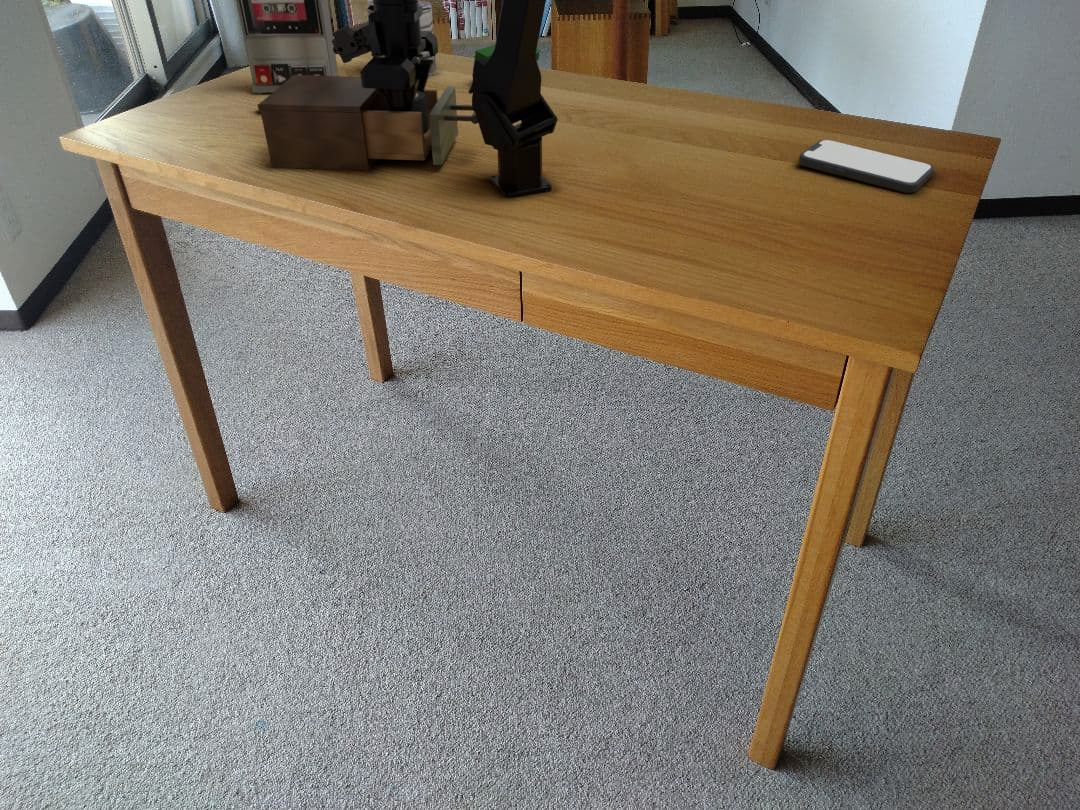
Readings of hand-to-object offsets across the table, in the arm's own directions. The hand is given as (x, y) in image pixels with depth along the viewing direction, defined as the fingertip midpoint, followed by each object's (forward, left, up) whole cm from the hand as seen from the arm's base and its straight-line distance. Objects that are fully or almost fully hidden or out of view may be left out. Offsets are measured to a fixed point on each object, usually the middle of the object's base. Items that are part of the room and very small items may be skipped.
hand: (407, 123), depth 115 cm
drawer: (-1, -2, -3) cm, 4 cm away
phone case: (-30, -55, -4) cm, 63 cm away
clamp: (+28, -25, -4) cm, 38 cm away
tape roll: (0, 0, -1) cm, 1 cm away
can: (+41, -10, -4) cm, 43 cm away
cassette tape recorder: (+38, +10, -4) cm, 40 cm away
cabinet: (+5, +10, -4) cm, 12 cm away
